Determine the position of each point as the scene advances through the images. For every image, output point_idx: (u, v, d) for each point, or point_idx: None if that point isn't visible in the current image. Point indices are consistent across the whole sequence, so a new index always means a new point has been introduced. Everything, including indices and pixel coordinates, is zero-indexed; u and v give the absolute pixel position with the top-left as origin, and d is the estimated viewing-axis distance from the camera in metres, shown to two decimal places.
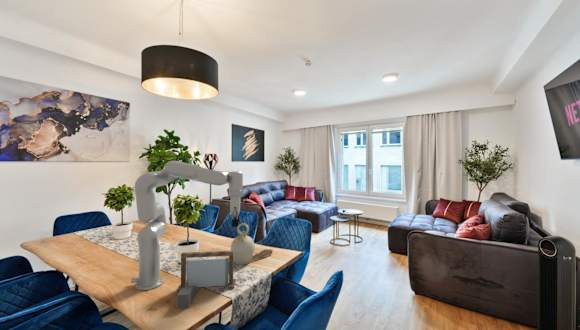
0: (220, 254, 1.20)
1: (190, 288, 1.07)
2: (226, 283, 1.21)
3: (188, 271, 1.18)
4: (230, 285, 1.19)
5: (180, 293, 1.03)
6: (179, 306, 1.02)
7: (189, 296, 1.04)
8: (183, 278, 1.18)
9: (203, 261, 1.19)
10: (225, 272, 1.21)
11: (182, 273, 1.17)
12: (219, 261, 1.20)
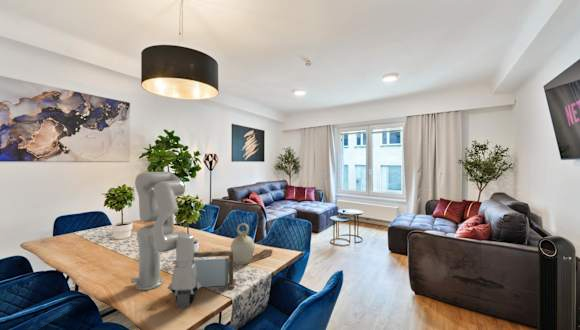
0: (220, 254, 1.20)
1: None
2: (226, 283, 1.21)
3: None
4: (230, 285, 1.19)
5: (180, 293, 1.03)
6: (179, 306, 1.02)
7: (189, 296, 1.04)
8: None
9: (203, 261, 1.19)
10: (225, 272, 1.21)
11: None
12: (219, 261, 1.20)
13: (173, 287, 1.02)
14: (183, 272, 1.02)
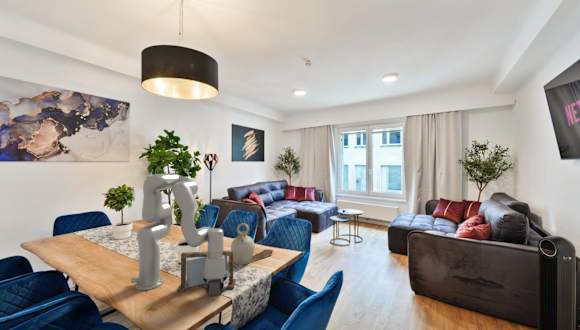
0: None
1: None
2: (225, 275, 1.30)
3: (189, 271, 1.19)
4: (230, 285, 1.19)
5: (211, 281, 1.13)
6: (211, 293, 1.11)
7: None
8: (183, 278, 1.18)
9: (203, 258, 1.23)
10: None
11: (182, 273, 1.17)
12: None
13: (205, 276, 1.12)
14: (214, 262, 1.12)
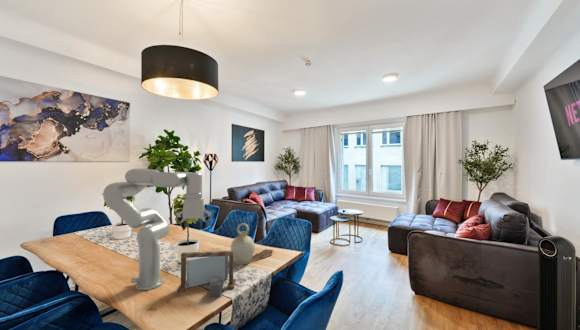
0: (220, 254, 1.20)
1: (220, 279, 1.16)
2: (226, 277, 1.28)
3: (188, 271, 1.19)
4: (230, 285, 1.19)
5: (212, 283, 1.11)
6: (211, 295, 1.10)
7: (220, 286, 1.12)
8: (183, 278, 1.18)
9: (204, 259, 1.22)
10: (225, 266, 1.27)
11: (182, 273, 1.17)
12: (219, 257, 1.26)
13: (184, 216, 1.16)
14: (192, 203, 1.17)
